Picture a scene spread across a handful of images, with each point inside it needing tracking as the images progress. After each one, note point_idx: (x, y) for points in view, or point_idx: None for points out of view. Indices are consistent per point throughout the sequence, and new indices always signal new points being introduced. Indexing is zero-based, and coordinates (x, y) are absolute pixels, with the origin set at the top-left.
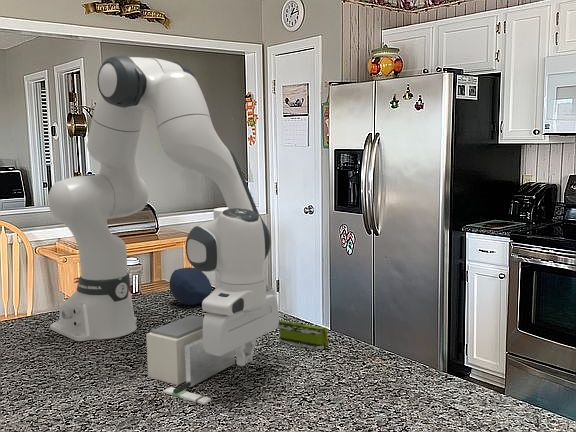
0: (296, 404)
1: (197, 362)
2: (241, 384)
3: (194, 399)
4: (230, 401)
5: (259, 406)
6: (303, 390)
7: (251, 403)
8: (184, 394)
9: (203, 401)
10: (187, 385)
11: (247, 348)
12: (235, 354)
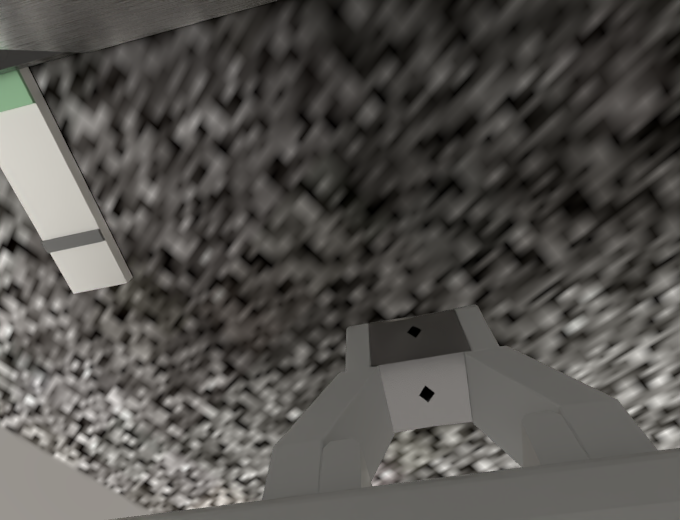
0: None
1: (54, 16)
2: (388, 238)
3: (40, 230)
4: (210, 344)
5: None
6: None
7: (273, 413)
8: (6, 127)
9: (76, 283)
10: (39, 59)
11: (505, 411)
12: (324, 397)
